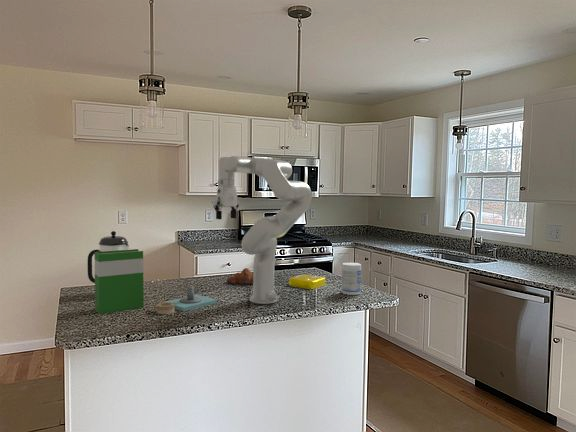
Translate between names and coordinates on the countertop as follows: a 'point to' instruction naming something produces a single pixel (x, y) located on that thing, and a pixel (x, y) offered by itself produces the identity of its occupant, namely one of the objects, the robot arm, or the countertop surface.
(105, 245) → the coffee press
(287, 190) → the robot arm
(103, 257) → the hardback book
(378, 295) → the countertop surface
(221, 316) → the countertop surface
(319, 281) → the element tile
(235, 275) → the pastry
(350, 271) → the supplement tub
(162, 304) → the ring
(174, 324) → the countertop surface
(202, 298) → the teal plate with knob
